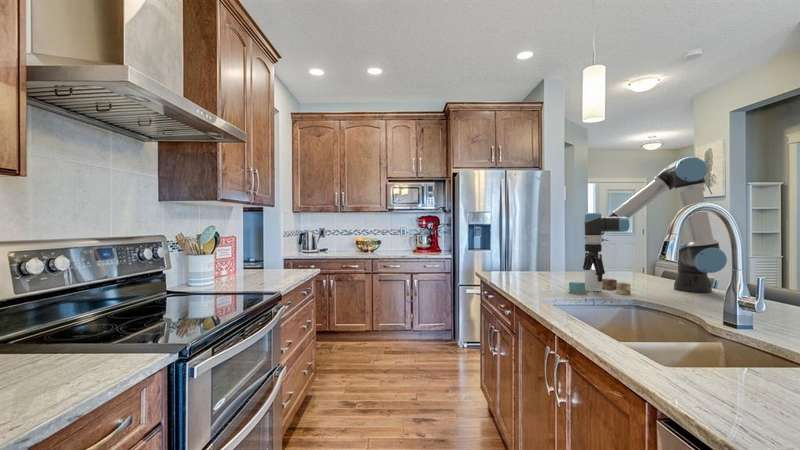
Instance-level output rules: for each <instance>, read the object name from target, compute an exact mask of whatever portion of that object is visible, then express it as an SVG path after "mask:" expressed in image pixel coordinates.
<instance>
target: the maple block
mask: <svg viewBox="0 0 800 450" xmlns="http://www.w3.org/2000/svg"><path fill="white" fill-rule="evenodd" d="M616 285H617V290H616V294H618V295H631V292H632V291H631V283H630V282H619V281H617V282H616Z"/></svg>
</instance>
